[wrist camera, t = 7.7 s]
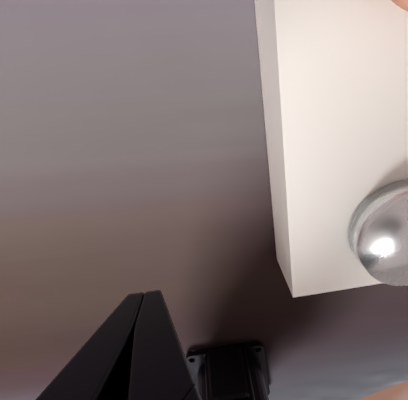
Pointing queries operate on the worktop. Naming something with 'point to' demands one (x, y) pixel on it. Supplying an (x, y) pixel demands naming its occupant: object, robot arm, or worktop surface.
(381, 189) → the plug
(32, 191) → the worktop surface
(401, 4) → the terracotta plug
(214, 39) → the worktop surface
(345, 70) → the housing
